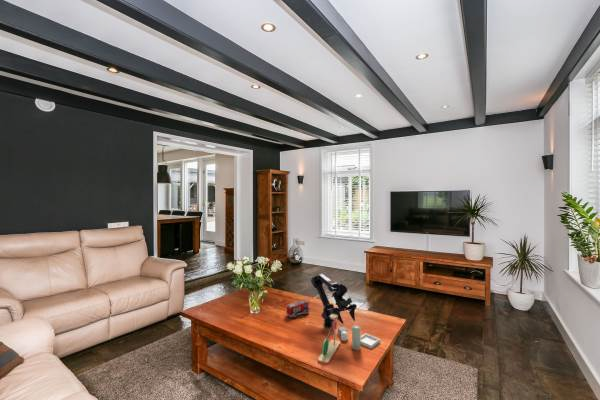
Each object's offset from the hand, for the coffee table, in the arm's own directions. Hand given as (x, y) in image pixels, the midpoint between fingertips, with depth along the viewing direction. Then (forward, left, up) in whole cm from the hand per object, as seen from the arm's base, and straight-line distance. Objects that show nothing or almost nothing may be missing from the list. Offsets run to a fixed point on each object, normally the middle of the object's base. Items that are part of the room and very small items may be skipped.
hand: (348, 322), depth 186 cm
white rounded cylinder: (-2, +3, -13) cm, 14 cm away
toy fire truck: (-32, +43, -13) cm, 56 cm away
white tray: (+12, -1, -13) cm, 18 cm away
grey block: (-2, +10, -13) cm, 17 cm away
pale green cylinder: (+3, -7, -13) cm, 15 cm away
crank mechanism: (-14, -12, -13) cm, 23 cm away
